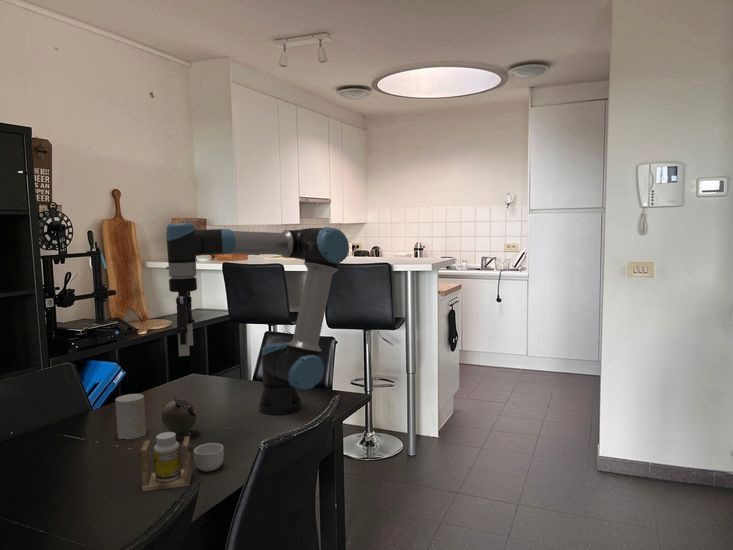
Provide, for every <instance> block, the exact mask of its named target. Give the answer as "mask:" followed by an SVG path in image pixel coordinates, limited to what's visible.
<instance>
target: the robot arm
mask: <svg viewBox="0 0 733 550" xmlns="http://www.w3.org/2000/svg"><path fill="white" fill-rule="evenodd" d="M165 239H166V250H167V264H168V265H166V266H165V269H166V270H168V276H169V277H170V278H169V279H168V284H169V285H168V287H169V292H172V293H178V295H177V296H176V299H175V304H176V329H174V333H175V334H177V342H178V343H177V344H178V357H187V356H188V357H189V356H190V346H192V347H193V346H194V330H193V324H195V323H196V322H195V321H196V320H195V319H193V312H192V311H193V310H192V305H193V304H192V299H193V298H192V296H191V292H194V291H197V289H198V283H197V282H198V281H197V277H196V276H197V260H196V256H216V255H222V256H223V255H265V256H266V255H269V256H270V255H275V256H276V255H277V256H278V255H279V256H280V255H281V257H283V258H284V259H285V258H286V259H289V258H290V259H296V260H297V259H298V260H302V261H304V262H303V264H304V266H305V267H306V269H307V272H306V275H305V276H306V277H305V280H304V283H303V284H304V286H303V291H302V294H301V300H300V303H299V308H298V314H297V319H296V323H295V328H294V332H293V337H292V339H291V340H290V341H288V342H287V341H285V342H283V341H282V342H275V343H270V344H266V345H264V346H263V347H262V348H261V355H260V356H261V367H262V370H261V371H262V386H263V387H262V391H261V394H260V398H259V401H258V402H259V403H258V410H259V412H260V413H263V414H266V415H275V416H277V415H287V414H293V413H295V412H298V411H300V410H301V409H303V399H302V396H301V394H300V391H299V390H303V391H304V390H305V391H306V390H307V391H308V390H310V389H312V388H314V387H315V386H316V385H318V384H319V383H320V382H321V380H322V378H323V376H324V375H325V374H324V372H325V364H324V363H323V360H322V359H321V355H322V349H321V348H320V345H319V342H320V337H321V333H322V327H323V323H324V318H325V317H324V316H325V313H326V307H327V302H328V300H329V299H328V298H329V293H330V290H331V289H330V288H331V284H332V279H333V275H334V274H335V273H337V272H338V271H339V268H340V263H342V262H343V261H344V260H346V259H347V257H348V256H349V252H350V251H349V250H350V244H349V240H348V238H347V236H346V234H345V233H344V232H343V231H341V230H340V229H338V228H335V227H329V226H325V227H309V228H308V227H307V228H301V229H294V230H293V229H292V230H291V229H284V230H283V231H282V232H271V231H270V232H269V231H267V232H266V231H244V230H243V231H241V230H239V231H238V230H232V229H228V228H217V229H216V228H214V229H212V228H211V229H210V228H209V229H196V228H195V225H194V224H193V223H191V222H179V223H178V222H176V223H175V222H174V223H173V222H172V223H169V224H167V226H166V238H165Z"/></svg>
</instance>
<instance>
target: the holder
mask: <svg viewBox="0 0 733 550" xmlns="http://www.w3.org/2000/svg"><path fill="white" fill-rule="evenodd" d="M190 438H191V437H190V436H188V437H185V438H184V439H183V442H182V446H181V448H182V466H183V468H181V476H180V477H179V478H177V479H176V480H173V481H170V482H160V481H157V480H156V476H155V472H153V471H152V469H153V468H152V453H151V451H152V450H151V440H144V441H143V445H142V446H141V449H139V450H138V457H139V458H140V460H141V462H140V463H141V476H142V487H141V492H148V491H156V490H158V491H159V490H163V489H164V490H165V489H172V488H181V487H182V488H183V487H189V486H190V484H191V479H192V473H193V468H192V461H191V459H192V456H191V452H194V445H193V444H191V442H190V441H191V440H190Z"/></svg>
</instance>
